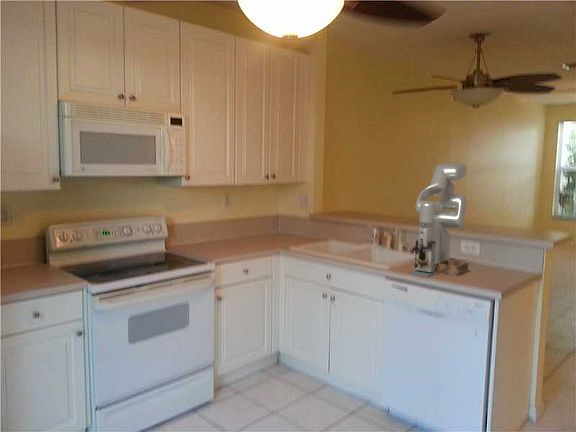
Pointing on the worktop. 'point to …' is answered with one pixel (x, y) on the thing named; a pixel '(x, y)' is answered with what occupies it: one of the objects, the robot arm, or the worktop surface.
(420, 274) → the mat
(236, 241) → the worktop surface
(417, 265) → the coffee box
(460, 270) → the holder
